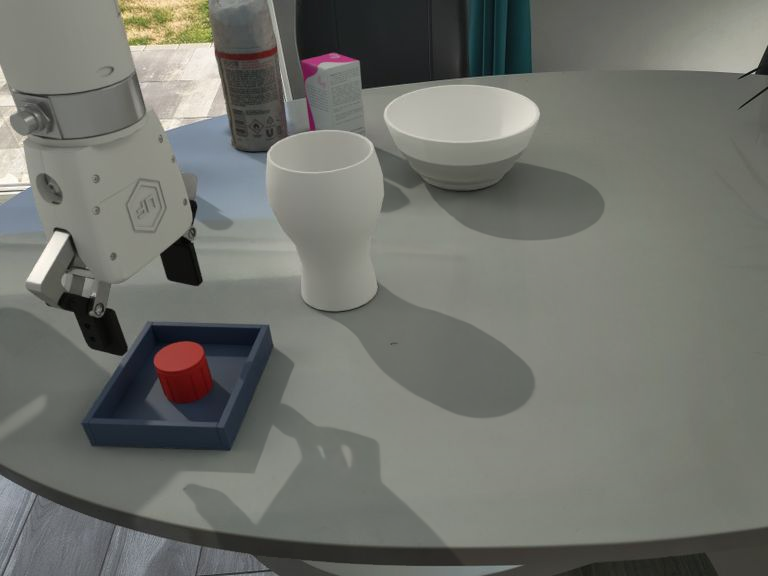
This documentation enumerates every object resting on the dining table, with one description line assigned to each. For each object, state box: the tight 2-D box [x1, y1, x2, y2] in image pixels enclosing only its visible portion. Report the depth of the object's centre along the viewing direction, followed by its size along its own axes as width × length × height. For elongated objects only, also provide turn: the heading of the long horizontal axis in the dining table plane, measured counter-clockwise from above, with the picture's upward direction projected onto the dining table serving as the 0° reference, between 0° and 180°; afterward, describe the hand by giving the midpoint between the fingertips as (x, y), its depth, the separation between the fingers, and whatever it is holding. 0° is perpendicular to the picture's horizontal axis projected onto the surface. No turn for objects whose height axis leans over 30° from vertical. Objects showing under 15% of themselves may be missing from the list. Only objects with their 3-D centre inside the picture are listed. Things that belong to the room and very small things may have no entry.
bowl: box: [383, 84, 541, 192], centre depth 94 cm, size 20×20×8 cm
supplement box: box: [300, 52, 367, 138], centre depth 100 cm, size 6×6×12 cm
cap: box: [154, 341, 213, 403], centre depth 61 cm, size 4×4×4 cm
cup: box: [265, 130, 385, 312], centre depth 70 cm, size 11×11×15 cm
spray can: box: [208, 0, 290, 152], centre depth 98 cm, size 8×8×20 cm
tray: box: [80, 320, 274, 451], centre depth 62 cm, size 11×13×2 cm
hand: (149, 314), depth 59 cm, fingers open, 9 cm apart
